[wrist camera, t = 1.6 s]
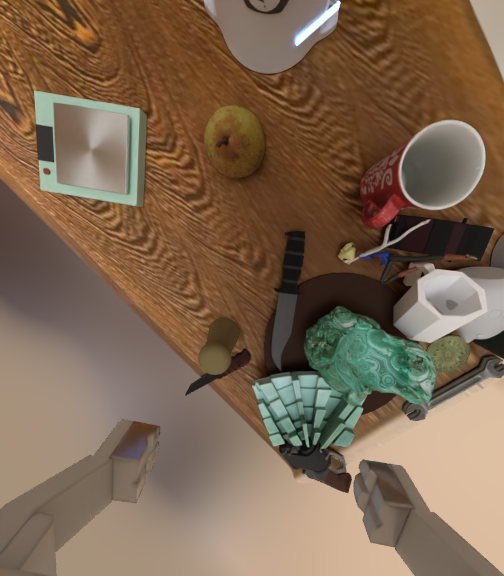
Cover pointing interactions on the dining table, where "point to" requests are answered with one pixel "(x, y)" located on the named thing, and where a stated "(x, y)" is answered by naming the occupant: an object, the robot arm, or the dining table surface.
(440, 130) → the mug
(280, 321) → the knife
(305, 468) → the toy gun
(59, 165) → the scale pan
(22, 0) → the dining table surface
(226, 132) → the fruit
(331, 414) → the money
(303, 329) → the plate
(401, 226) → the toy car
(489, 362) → the wrench
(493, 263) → the lumpy-topped squat cylinder
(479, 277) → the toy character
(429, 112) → the dining table surface
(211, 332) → the brown rounded elongated piece
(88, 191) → the scale
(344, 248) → the figurine
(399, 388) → the mineral
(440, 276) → the white geometric planter
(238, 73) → the dining table surface
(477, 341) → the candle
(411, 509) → the robot arm
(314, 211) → the dining table surface
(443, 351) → the medallion
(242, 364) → the knife
